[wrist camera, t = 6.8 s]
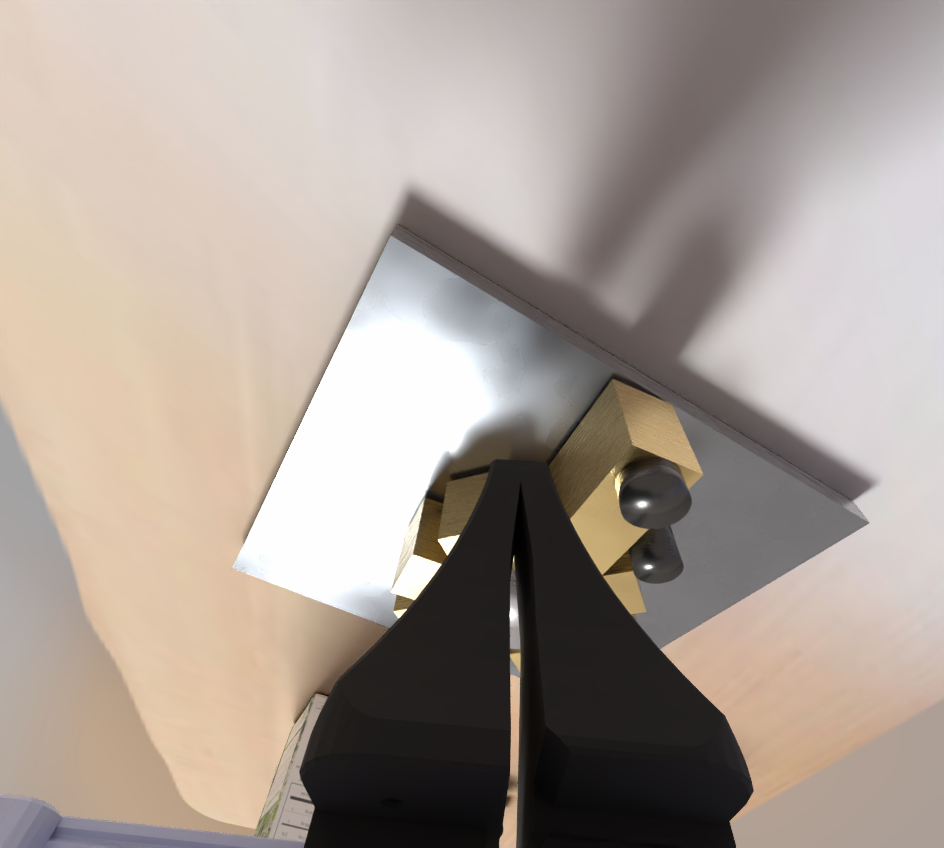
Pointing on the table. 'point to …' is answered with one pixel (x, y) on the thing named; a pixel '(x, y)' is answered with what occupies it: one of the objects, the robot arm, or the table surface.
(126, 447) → the table surface
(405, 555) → the brass block wheel
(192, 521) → the table surface
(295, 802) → the syrup box
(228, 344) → the table surface
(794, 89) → the table surface
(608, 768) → the robot arm
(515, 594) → the grey metal base plate
